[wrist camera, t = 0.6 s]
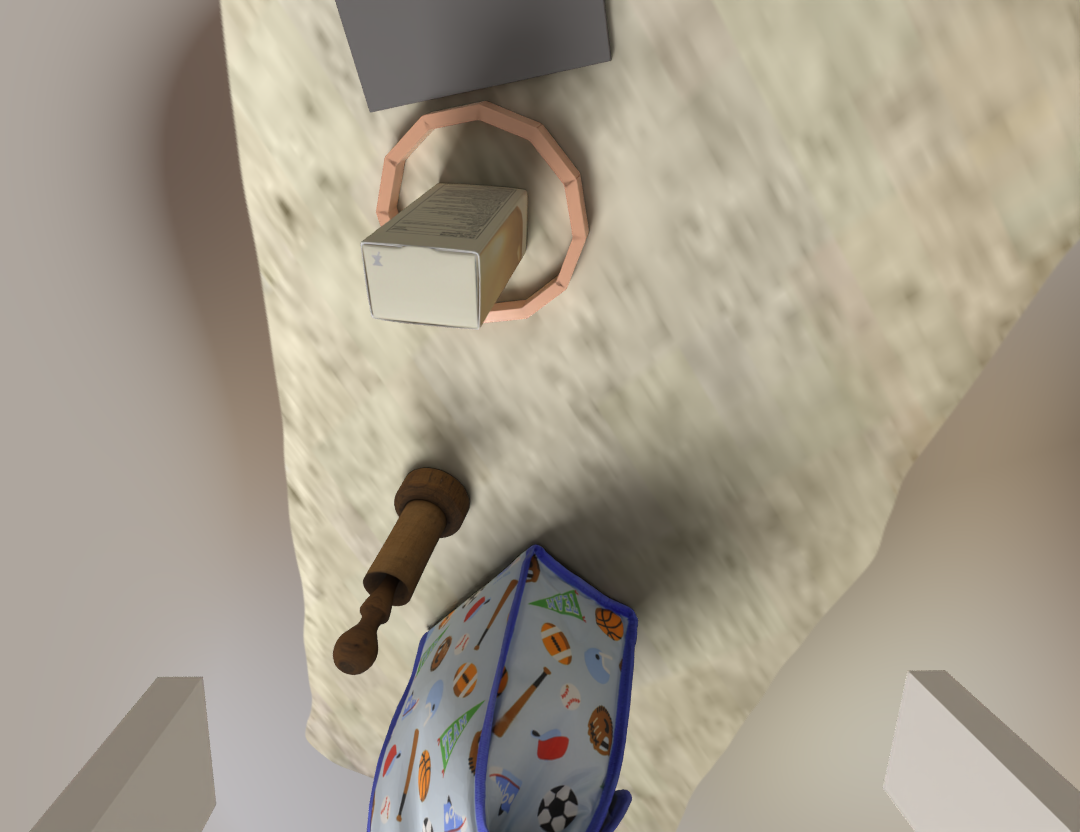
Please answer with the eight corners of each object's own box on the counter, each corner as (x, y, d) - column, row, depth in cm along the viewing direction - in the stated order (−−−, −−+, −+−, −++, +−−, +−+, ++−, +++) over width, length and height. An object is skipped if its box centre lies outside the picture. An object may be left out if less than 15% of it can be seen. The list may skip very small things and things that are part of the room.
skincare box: (441, 245, 42) (364, 320, 32) (436, 180, 40) (352, 240, 30) (531, 254, 41) (480, 334, 31) (532, 188, 39) (478, 252, 29)
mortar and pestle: (390, 473, 56) (283, 640, 41) (451, 461, 53) (361, 634, 39) (422, 525, 59) (334, 698, 44) (481, 516, 56) (408, 696, 42)
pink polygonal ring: (359, 126, 39) (349, 130, 37) (566, 83, 35) (562, 86, 34) (422, 321, 46) (415, 329, 45) (599, 302, 42) (597, 311, 41)
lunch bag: (536, 700, 72) (468, 1001, 50) (417, 632, 69) (291, 920, 47) (662, 617, 59) (644, 973, 37) (522, 528, 56) (416, 859, 34)
